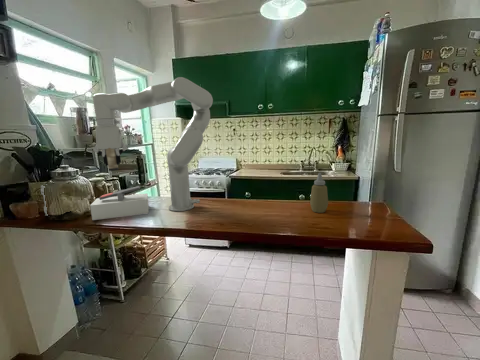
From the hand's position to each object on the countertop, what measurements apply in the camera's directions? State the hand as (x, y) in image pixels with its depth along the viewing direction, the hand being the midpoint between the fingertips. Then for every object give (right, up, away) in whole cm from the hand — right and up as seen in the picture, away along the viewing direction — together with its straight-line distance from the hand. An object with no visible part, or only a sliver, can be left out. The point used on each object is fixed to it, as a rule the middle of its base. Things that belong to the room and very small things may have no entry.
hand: (113, 164), depth 111 cm
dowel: (0, -3, 0) cm, 3 cm away
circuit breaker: (-31, -24, +12) cm, 41 cm away
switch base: (-1, -23, +11) cm, 26 cm away
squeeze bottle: (+94, -22, +3) cm, 97 cm away
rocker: (-1, -13, +9) cm, 16 cm away
